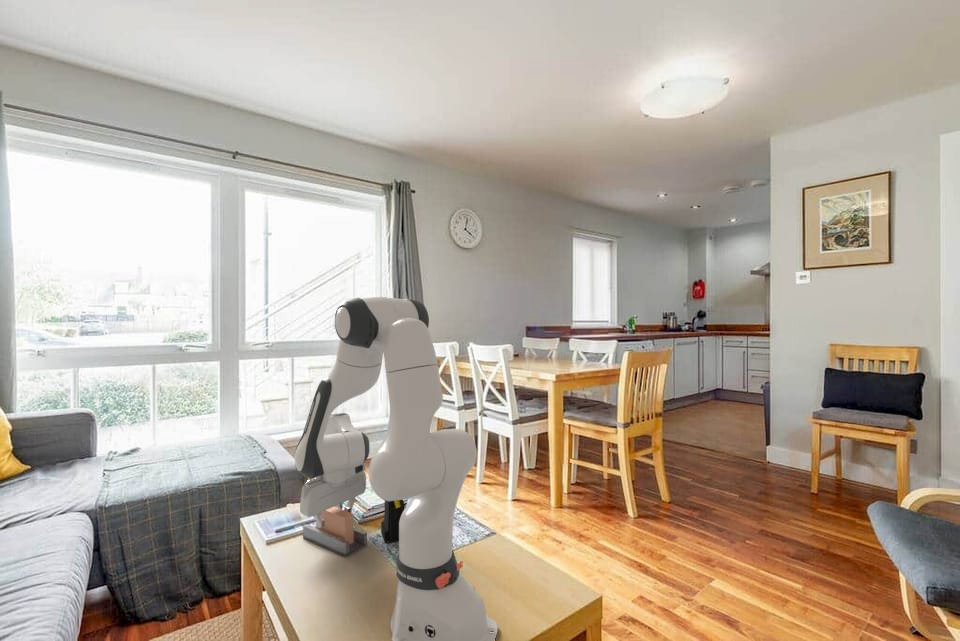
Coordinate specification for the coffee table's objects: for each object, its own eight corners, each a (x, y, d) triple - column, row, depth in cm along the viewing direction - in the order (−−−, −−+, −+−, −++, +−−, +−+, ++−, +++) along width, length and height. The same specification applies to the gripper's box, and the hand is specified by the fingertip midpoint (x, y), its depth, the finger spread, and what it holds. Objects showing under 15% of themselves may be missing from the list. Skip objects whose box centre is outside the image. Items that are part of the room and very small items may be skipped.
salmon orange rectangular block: (353, 542, 123) (353, 513, 122) (344, 547, 120) (344, 517, 120) (325, 530, 129) (325, 503, 129) (316, 534, 126) (316, 507, 126)
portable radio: (407, 541, 125) (407, 453, 124) (385, 545, 123) (385, 455, 122) (401, 528, 132) (401, 445, 132) (380, 532, 130) (381, 447, 129)
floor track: (367, 544, 123) (367, 532, 123) (345, 557, 117) (345, 544, 116) (324, 527, 132) (324, 515, 132) (303, 537, 126) (303, 525, 126)
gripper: (309, 485, 114) (309, 538, 114) (369, 462, 131) (369, 509, 131) (294, 480, 117) (294, 532, 117) (355, 458, 134) (354, 504, 135)
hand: (334, 519), depth 124 cm, fingers open, 8 cm apart
